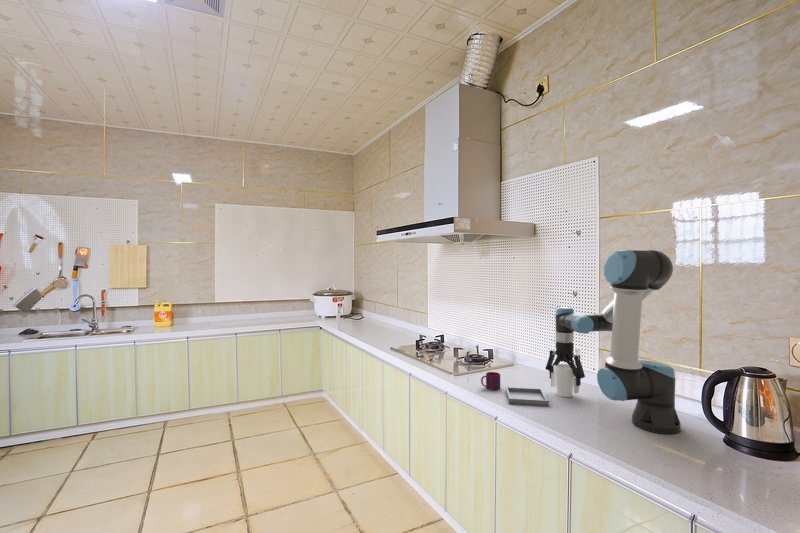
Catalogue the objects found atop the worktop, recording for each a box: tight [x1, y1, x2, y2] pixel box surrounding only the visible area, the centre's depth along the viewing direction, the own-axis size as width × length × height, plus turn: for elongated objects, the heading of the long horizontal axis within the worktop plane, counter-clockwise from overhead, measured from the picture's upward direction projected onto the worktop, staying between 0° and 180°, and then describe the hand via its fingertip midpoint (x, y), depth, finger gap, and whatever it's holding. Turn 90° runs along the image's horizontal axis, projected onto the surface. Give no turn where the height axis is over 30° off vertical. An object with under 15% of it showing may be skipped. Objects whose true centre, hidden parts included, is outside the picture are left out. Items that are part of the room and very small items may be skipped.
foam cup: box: [554, 363, 575, 398], centre depth 178 cm, size 10×9×13 cm
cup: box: [480, 371, 501, 391], centre depth 188 cm, size 7×10×7 cm
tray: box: [505, 386, 549, 407], centre depth 173 cm, size 16×16×2 cm
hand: (564, 389), depth 178 cm, fingers open, 11 cm apart
